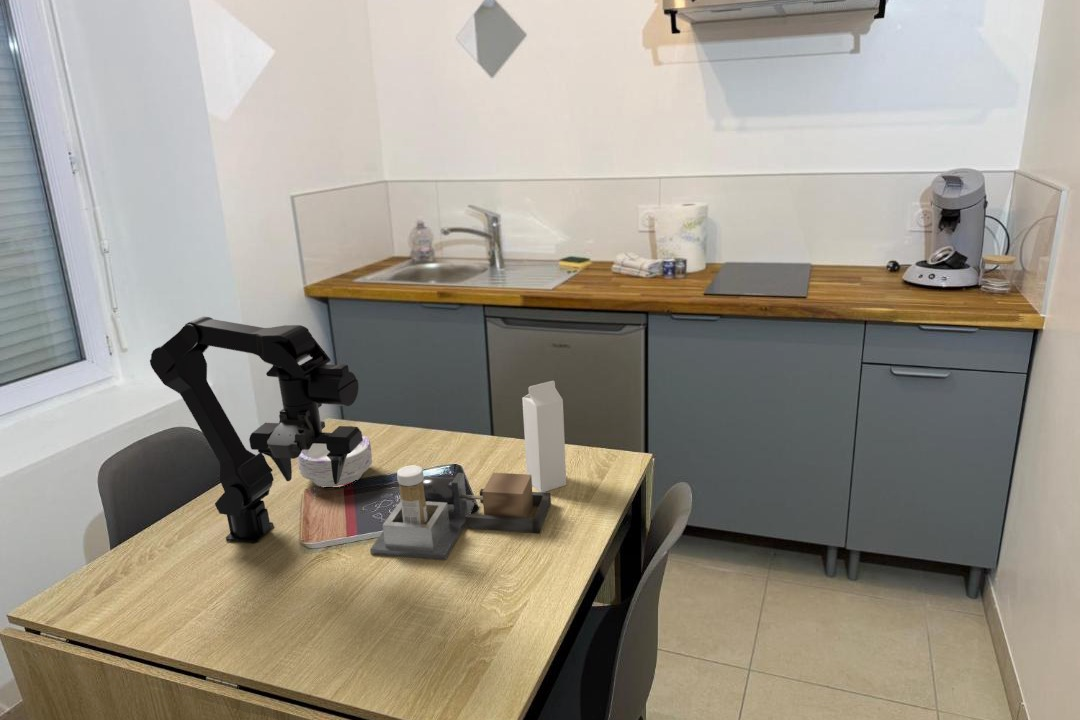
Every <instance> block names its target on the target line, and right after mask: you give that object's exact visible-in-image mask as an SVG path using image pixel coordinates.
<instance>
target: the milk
mask: <svg viewBox="0 0 1080 720" xmlns="http://www.w3.org/2000/svg"><path fill="white" fill-rule="evenodd" d="M555 382H556V381H555V380H550V381H546V382H542V383H538V384H534V385H531V386H529V387H528V394H526V395H524V396H523V397H522V398H521V399H522V414H523V415H522V416H523V429H524V430H523V431H524V432H523V433H524V446H525V447H524V449H525V465H526V474H528V475H531V477H532V488H535V489H536V490H537V491H538V492H543V493H547V492H548V491H549V492H550V491H553V490H555V489H558V488H561V487H564V486H567V471H566V467H567V466H566V447H565V421H564V420H565V419H564V399H563V397H562V396H561V395H560V393H559V391H558V390H557V388H556V383H555Z"/></svg>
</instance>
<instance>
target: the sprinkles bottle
mask: <svg viewBox="0 0 1080 720" xmlns="http://www.w3.org/2000/svg"><path fill="white" fill-rule="evenodd" d="M396 475H397V477H396V479H397V483H398V485H399V494H400V496H399V497H400V501H401V507H402V515H403V523H414V524H427V523H428V521H427V519H428V518H427V509H426V501H425V495H424V486H423V479H424V477H425V475H424V469H423V468H422V467H421V466H419V465H406V466H402V467H401V468H399V469H398V470H397V471H396Z"/></svg>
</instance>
